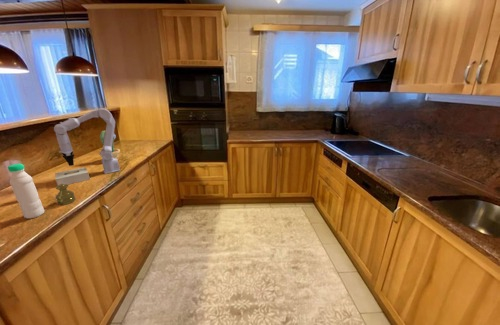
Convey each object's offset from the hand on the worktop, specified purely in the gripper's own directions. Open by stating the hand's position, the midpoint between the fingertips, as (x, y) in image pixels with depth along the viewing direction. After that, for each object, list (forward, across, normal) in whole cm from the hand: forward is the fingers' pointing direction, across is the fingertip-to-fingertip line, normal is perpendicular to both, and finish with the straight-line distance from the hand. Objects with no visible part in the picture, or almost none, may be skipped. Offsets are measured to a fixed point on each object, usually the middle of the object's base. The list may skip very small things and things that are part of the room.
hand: (71, 164), depth 139 cm
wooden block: (+10, +1, -1) cm, 11 cm away
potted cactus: (+11, -28, +26) cm, 40 cm away
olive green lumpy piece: (+11, +36, -6) cm, 38 cm away
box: (+10, +1, -1) cm, 10 cm away
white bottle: (+10, +42, -18) cm, 47 cm away
